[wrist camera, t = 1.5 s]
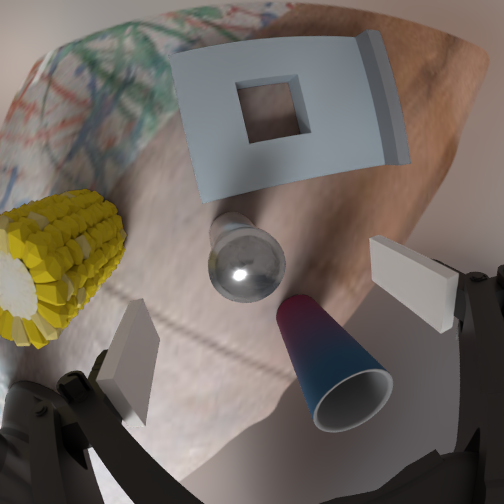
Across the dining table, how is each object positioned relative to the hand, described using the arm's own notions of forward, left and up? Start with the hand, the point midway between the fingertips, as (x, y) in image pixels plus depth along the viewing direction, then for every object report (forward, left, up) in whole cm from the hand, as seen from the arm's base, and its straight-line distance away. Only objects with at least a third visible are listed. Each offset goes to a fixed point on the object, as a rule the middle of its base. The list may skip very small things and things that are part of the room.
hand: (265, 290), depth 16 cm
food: (-15, +4, -14) cm, 21 cm away
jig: (+8, +11, -14) cm, 19 cm away
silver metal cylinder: (0, 0, -14) cm, 14 cm away
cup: (+5, -11, -14) cm, 19 cm away
